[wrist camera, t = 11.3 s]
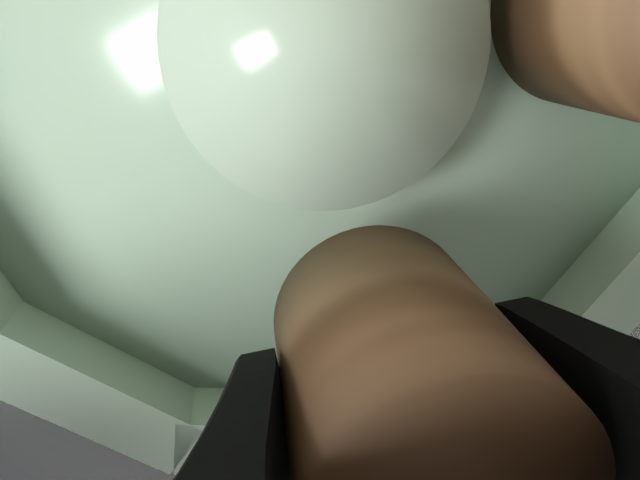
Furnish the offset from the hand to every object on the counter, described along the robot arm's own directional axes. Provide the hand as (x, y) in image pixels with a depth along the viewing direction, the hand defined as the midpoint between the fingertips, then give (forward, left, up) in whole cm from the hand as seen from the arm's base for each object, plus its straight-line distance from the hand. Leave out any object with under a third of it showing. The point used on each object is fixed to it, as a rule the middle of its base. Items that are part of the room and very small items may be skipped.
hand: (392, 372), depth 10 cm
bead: (0, 0, -2) cm, 2 cm away
